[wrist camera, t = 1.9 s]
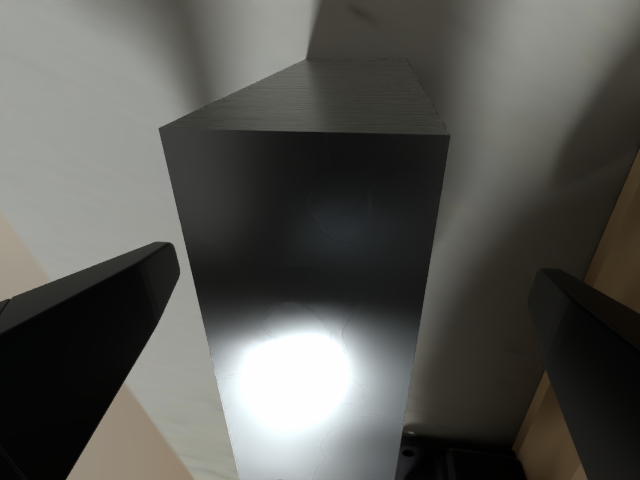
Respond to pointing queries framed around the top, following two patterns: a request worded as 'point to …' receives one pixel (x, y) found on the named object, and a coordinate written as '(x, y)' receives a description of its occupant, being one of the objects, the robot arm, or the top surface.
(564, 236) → the top surface
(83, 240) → the top surface
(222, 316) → the panel
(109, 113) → the top surface
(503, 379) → the top surface
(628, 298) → the tray
